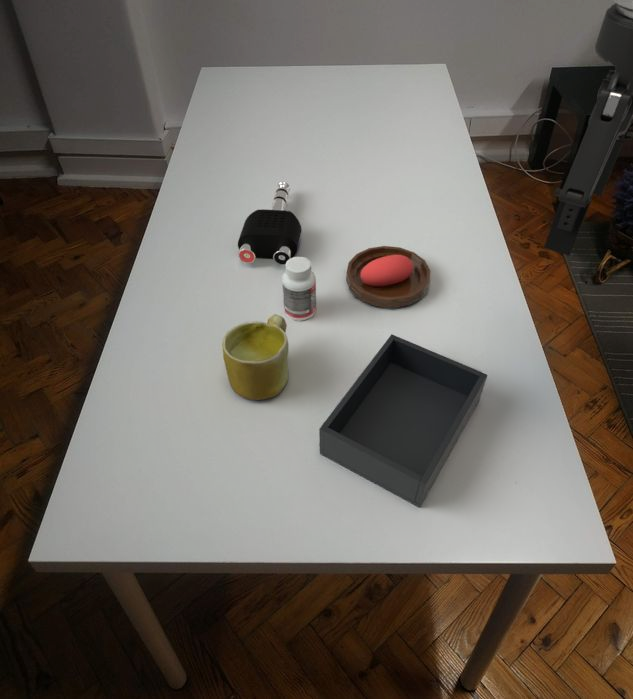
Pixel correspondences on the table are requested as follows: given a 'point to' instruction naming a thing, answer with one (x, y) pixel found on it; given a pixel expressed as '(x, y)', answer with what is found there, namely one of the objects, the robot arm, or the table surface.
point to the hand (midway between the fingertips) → (574, 219)
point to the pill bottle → (299, 289)
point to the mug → (257, 358)
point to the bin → (402, 418)
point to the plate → (393, 293)
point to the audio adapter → (271, 231)
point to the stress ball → (387, 270)
